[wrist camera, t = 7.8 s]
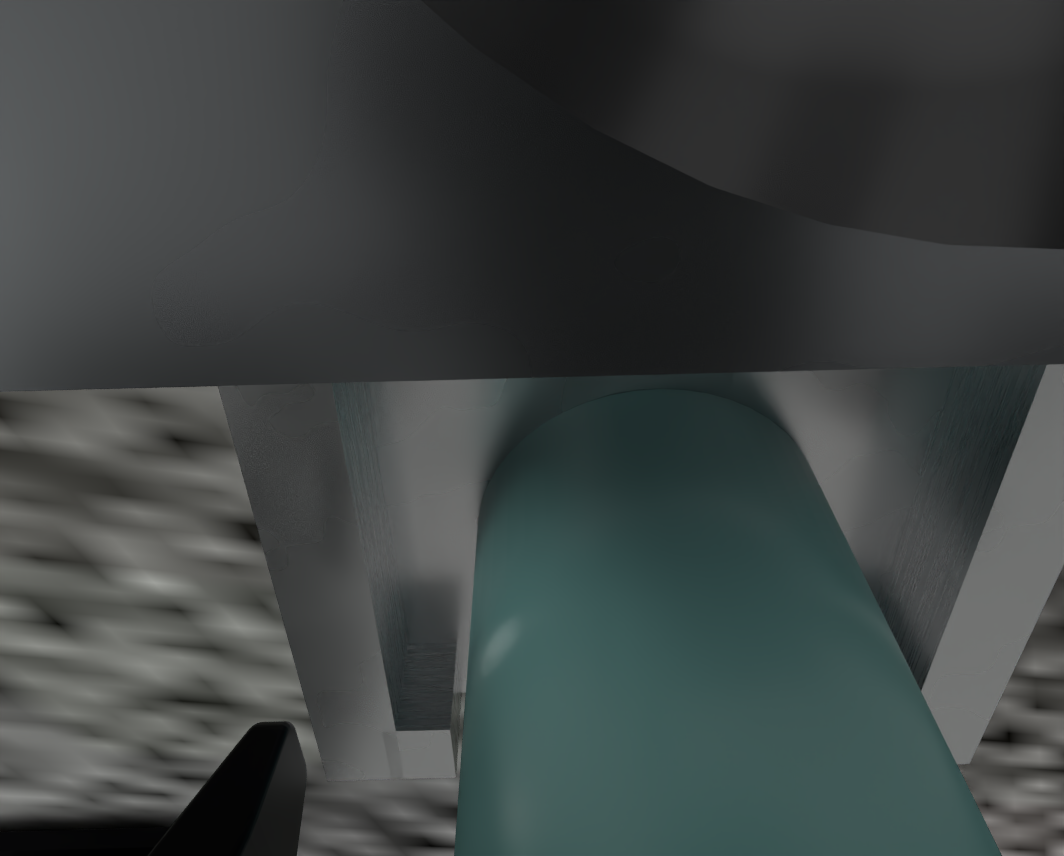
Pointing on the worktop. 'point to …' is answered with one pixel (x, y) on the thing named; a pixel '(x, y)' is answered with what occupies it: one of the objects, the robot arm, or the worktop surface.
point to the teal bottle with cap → (687, 655)
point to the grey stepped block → (558, 286)
